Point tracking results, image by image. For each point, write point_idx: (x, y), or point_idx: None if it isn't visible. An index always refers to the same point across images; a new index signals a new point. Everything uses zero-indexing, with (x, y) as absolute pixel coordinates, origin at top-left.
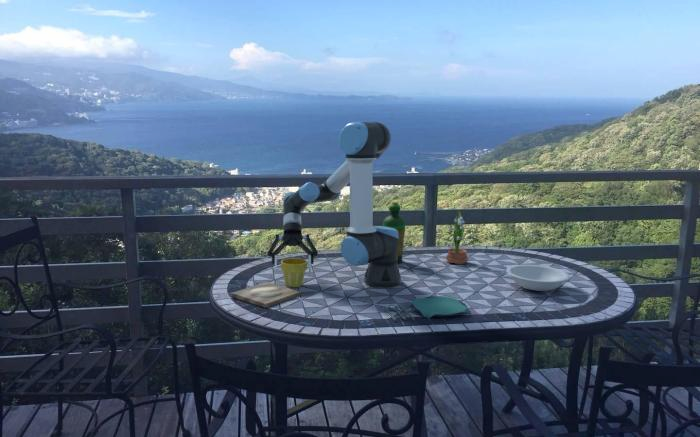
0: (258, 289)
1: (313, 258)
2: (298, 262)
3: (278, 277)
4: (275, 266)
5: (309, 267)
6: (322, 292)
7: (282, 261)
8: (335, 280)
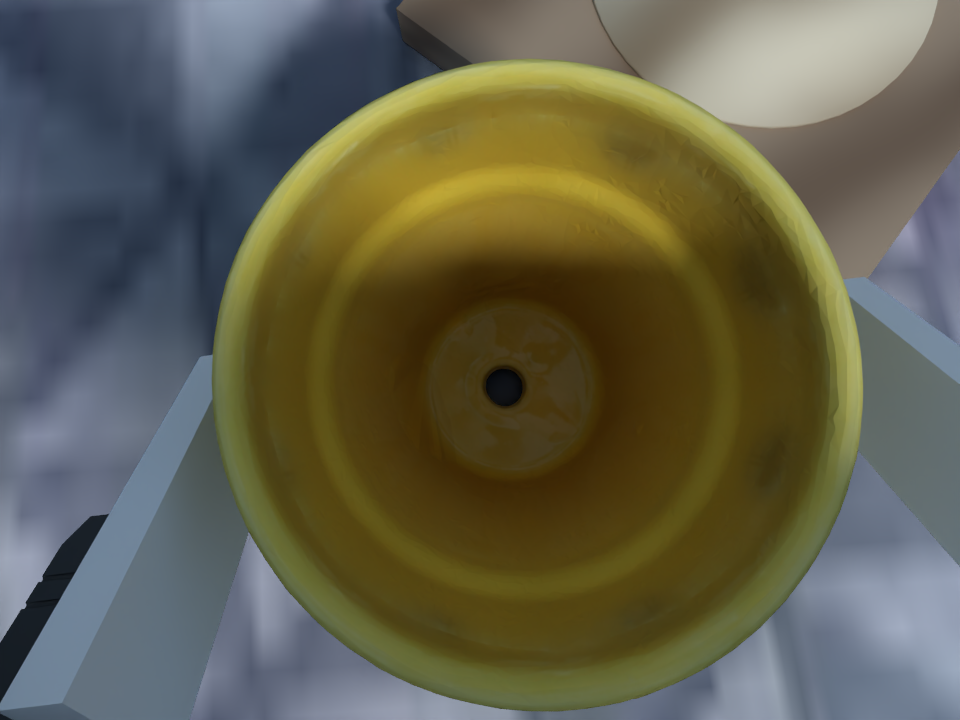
0: (868, 30)
1: (15, 627)
2: (452, 613)
3: (736, 678)
4: (893, 310)
5: None
6: (181, 145)
7: (824, 359)
8: (16, 593)
